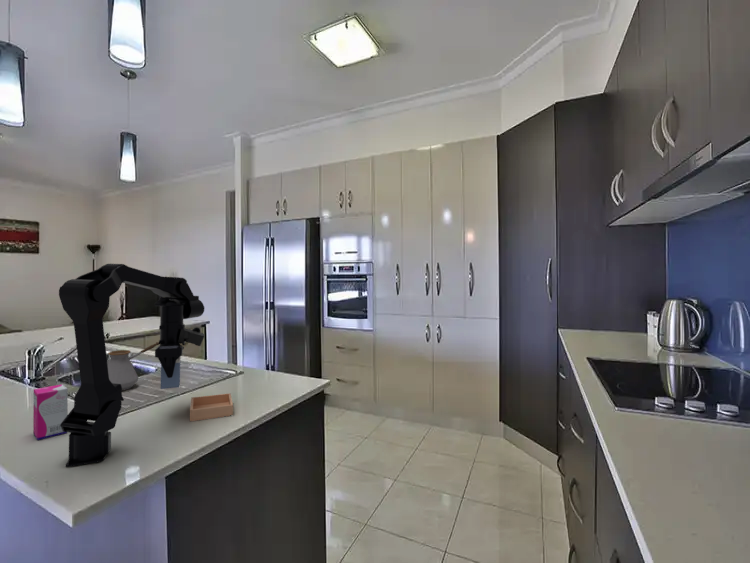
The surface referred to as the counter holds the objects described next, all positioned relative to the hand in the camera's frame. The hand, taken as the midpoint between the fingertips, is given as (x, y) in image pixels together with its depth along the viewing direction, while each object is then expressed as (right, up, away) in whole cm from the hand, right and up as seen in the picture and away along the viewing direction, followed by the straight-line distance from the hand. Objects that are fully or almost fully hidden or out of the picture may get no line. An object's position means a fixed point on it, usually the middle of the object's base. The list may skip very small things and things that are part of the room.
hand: (170, 375), depth 101 cm
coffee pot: (-29, -11, +27) cm, 41 cm away
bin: (+9, -12, +5) cm, 16 cm away
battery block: (0, -3, 0) cm, 3 cm away
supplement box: (-23, -12, -12) cm, 29 cm away
